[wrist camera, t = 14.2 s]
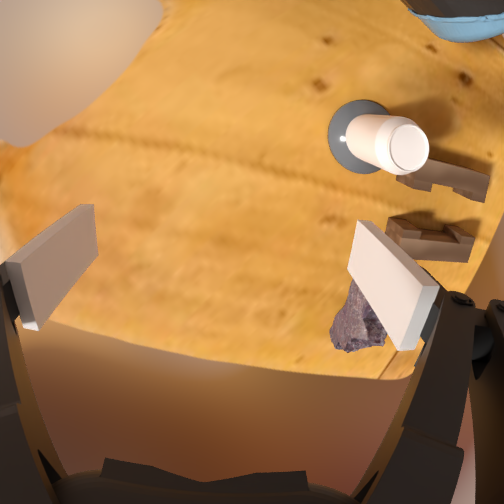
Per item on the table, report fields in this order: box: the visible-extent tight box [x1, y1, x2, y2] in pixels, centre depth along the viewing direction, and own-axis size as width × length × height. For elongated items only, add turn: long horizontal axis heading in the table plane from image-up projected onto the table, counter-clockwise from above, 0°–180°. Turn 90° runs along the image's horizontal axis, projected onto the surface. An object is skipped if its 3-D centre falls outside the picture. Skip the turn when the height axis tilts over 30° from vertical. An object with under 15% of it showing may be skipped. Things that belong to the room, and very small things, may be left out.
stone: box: [330, 279, 387, 353], centre depth 45 cm, size 10×6×15 cm
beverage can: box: [346, 114, 429, 175], centre depth 33 cm, size 6×6×12 cm
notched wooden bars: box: [385, 158, 490, 263], centre depth 41 cm, size 14×14×5 cm
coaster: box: [328, 100, 390, 174], centre depth 39 cm, size 10×10×1 cm
